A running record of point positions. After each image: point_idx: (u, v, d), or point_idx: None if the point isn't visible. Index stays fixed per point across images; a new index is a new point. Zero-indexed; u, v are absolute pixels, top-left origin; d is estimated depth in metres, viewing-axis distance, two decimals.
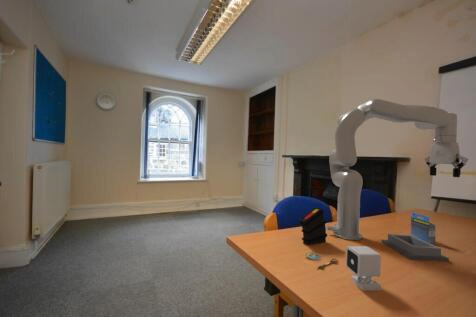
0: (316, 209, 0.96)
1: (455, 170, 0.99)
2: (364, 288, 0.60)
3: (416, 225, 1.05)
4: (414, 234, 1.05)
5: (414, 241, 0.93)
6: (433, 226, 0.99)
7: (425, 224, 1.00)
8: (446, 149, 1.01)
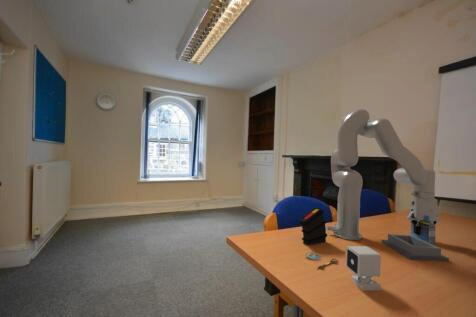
0: (316, 209, 0.96)
1: None
2: (364, 288, 0.60)
3: None
4: (414, 234, 1.05)
5: (414, 241, 0.93)
6: (433, 226, 0.99)
7: (425, 224, 1.00)
8: (433, 206, 1.01)
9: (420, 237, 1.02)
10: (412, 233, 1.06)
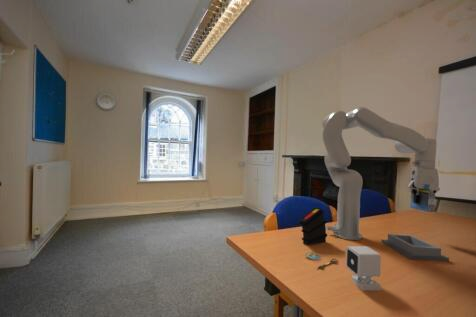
0: (316, 209, 0.96)
1: None
2: (364, 288, 0.60)
3: None
4: (414, 204, 1.05)
5: (414, 241, 0.93)
6: (433, 194, 0.99)
7: (425, 192, 1.00)
8: (434, 175, 1.01)
9: (419, 206, 1.03)
10: (412, 203, 1.06)
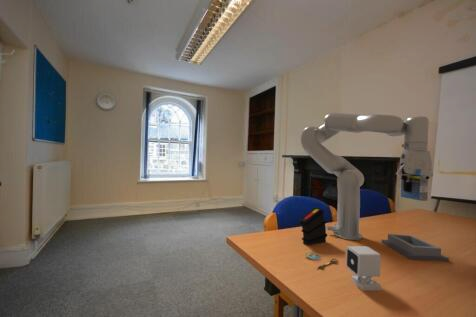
0: (316, 209, 0.96)
1: None
2: (364, 288, 0.60)
3: None
4: (404, 193, 0.92)
5: (414, 241, 0.93)
6: (425, 180, 0.86)
7: (416, 178, 0.87)
8: (426, 159, 0.88)
9: (410, 194, 0.89)
10: (402, 192, 0.93)
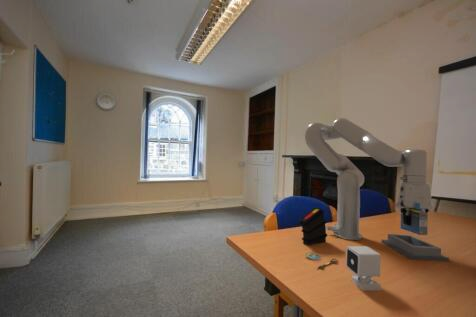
0: (316, 209, 0.96)
1: None
2: (364, 288, 0.60)
3: None
4: (404, 225, 0.92)
5: (414, 241, 0.93)
6: (425, 214, 0.85)
7: (415, 212, 0.87)
8: (425, 192, 0.87)
9: (410, 228, 0.89)
10: (402, 223, 0.93)
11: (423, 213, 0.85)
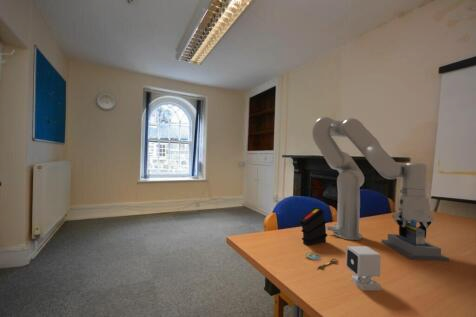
0: (316, 209, 0.96)
1: None
2: (364, 288, 0.60)
3: None
4: None
5: None
6: (422, 232, 0.86)
7: (412, 229, 0.87)
8: (425, 206, 0.87)
9: None
10: None
11: (420, 230, 0.86)
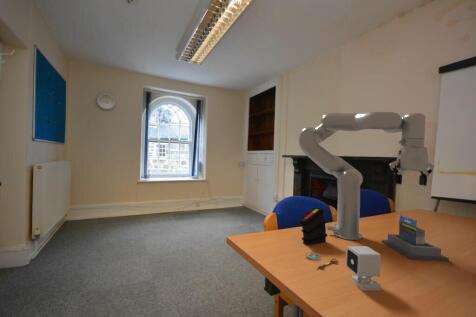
0: (316, 209, 0.96)
1: None
2: (364, 288, 0.60)
3: (403, 230, 0.91)
4: None
5: None
6: (422, 232, 0.86)
7: (412, 229, 0.87)
8: (423, 155, 0.89)
9: None
10: None
11: (420, 230, 0.86)
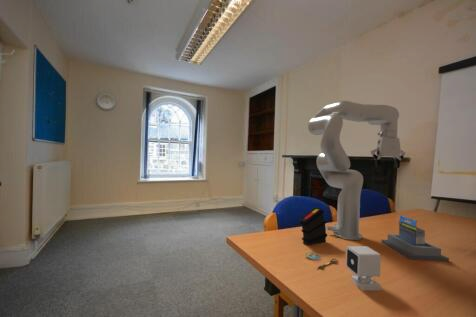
0: (316, 209, 0.96)
1: None
2: (364, 288, 0.60)
3: (403, 230, 0.91)
4: None
5: None
6: (422, 232, 0.86)
7: (412, 229, 0.87)
8: (396, 143, 1.14)
9: None
10: None
11: (420, 230, 0.86)
